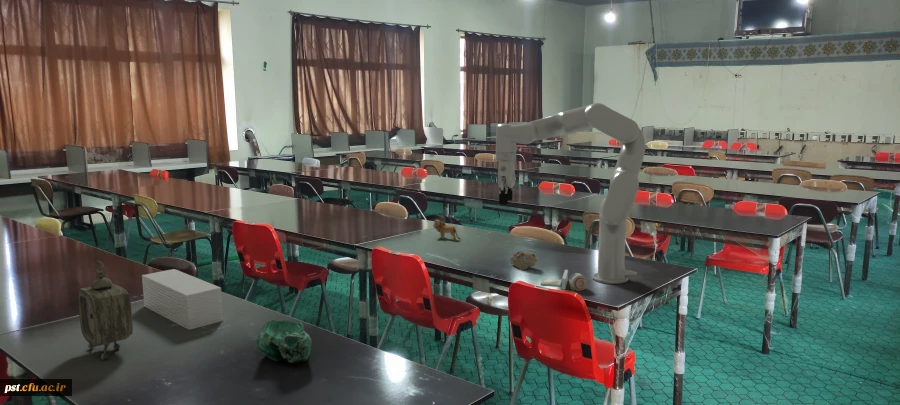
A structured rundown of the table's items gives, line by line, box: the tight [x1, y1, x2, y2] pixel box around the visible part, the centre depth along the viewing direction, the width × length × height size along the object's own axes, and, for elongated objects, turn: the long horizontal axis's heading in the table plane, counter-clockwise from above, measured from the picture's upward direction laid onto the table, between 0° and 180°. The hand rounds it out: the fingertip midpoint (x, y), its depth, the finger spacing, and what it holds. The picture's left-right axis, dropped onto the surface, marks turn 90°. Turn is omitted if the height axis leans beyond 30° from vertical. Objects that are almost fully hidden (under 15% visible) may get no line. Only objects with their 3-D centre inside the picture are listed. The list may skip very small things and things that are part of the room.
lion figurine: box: [432, 219, 461, 241], centre depth 311 cm, size 15×5×9 cm, turn 63°
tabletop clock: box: [77, 260, 134, 360], centre depth 171 cm, size 14×9×25 cm, turn 45°
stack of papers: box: [141, 268, 224, 331], centre depth 203 cm, size 32×11×11 cm, turn 47°
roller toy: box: [568, 272, 589, 292], centre depth 228 cm, size 4×6×6 cm
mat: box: [540, 277, 562, 287], centre depth 237 cm, size 7×7×1 cm
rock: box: [509, 251, 537, 271], centre depth 257 cm, size 7×11×10 cm
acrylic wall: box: [561, 269, 569, 291], centre depth 234 cm, size 1×12×4 cm, turn 166°
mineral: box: [255, 319, 313, 364], centre depth 167 cm, size 18×16×10 cm
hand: (505, 202), depth 244 cm, fingers open, 9 cm apart
